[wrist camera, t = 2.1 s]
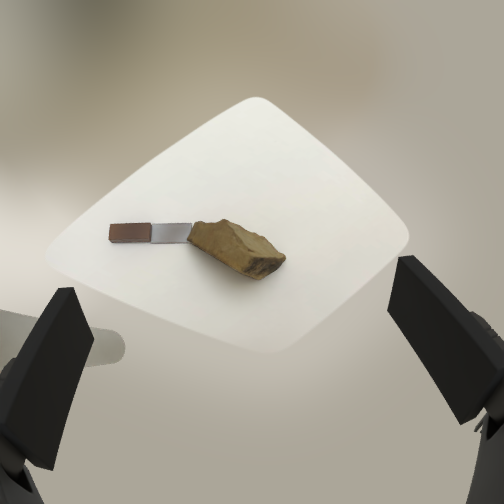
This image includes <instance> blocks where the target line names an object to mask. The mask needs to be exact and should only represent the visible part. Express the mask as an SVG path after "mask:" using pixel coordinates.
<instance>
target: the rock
mask: <svg viewBox="0 0 504 504" xmlns="http://www.w3.org/2000/svg"><path fill="white" fill-rule="evenodd" d="M187 241H189V242H190V243H192V244H194V245H195V246H197V247H199V248H200V249H201V250H203V251H205V252H207V253H208V254H210V255H212V256H214V257H215V258H216V259H218V260H220V261H221V262H223V263H224V264H226V265H228V266H230V267H231V268H233V269H235V270H237V271H238V272H240V273H241V274H245V275H247V276H251V277H252V278H255V279H257V280H260V279H262V278H264V277H265V276H267V275H269V274H270V273H272V272H274V271H275V270H276V269H278V268H279V266H280V265H281V264H282V262H283V261H284V260H286V257H285V255H284V254H282V253H280V252H278V251H277V250H276V249H275V248H274V247H273V245H272V244H271V243H270V242H268V240H267V239H266V238H265V237H264V236H259V235H258V234H256V233H252V232H249V231H247V230H245V229H244V228H242V227H241V226H240V225H237V224H234V223H231V222H229V221H228V220H226V219H222V220H221V221H219V222H216V223H205V222H202V221H198V222H195V223H194V226H193V228H192V230H191V232H190V234H189V236H188V237H187Z"/></svg>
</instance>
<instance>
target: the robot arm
mask: <svg viewBox="0 0 504 504" xmlns="http://www.w3.org/2000/svg"><path fill="white" fill-rule="evenodd" d="M387 311H388V312H389V314H390V315H391V317H392V318H393V320H394V321H395V323H396V324H397V325H398V327H399V328H400V330H401V331H402V333H403V334H404V336H405V337H406V339H407V340H408V342H409V343H410V345H411V346H412V348H413V349H414V351H415V352H416V354H417V355H418V357H419V358H420V360H421V362H422V363H423V364H424V366H425V368H426V369H427V371H428V372H429V374H430V376H431V377H432V378H433V380H434V382H435V384H436V385H437V387H438V388H439V390H440V392H441V393H442V395H443V397H444V398H445V400H446V402H447V403H448V405H449V407H450V408H451V410H452V412H453V413H454V415H455V417H456V418H457V420H458V422H459V424H460V425H462V424H464V423H466V422H468V421H470V420H472V419H474V418H476V417H477V415H478V414H479V413H480V411H481V410H482V409H483V407H484V408H485V409H486V411H487V413H486V414H485V416H484V417H483V418H482V420H481V421H480V422H479V423H478V425H477V426H476V428H475V430H474V432H477V430H478V429H479V428H480V427H481V426H482V425H483V427H482V430H481V431H480V433H482V434H481V441H480V446H479V451H478V457H477V461H476V466H475V471H474V475H473V479H472V483H471V487H470V491H469V494H468V498H467V502H466V504H504V341H503V340H502V339H501V337H500V336H498V334H497V333H496V332H495V331H494V329H491V326H490V325H489V324H488V323H487V322H486V321H485V320H484V319H483V318H482V317H481V316H479V315H477V314H476V313H474V312H469V311H468V310H467V309H466V308H465V307H464V306H463V305H462V303H461V302H459V300H458V299H457V298H456V297H455V296H454V295H453V294H452V293H451V292H450V291H449V290H448V289H447V288H446V287H445V286H444V285H443V284H442V283H441V282H440V281H439V280H438V279H437V278H436V277H435V276H434V275H433V274H432V273H431V272H430V271H429V270H428V269H427V268H426V267H425V266H424V265H423V264H422V263H421V262H420V261H419V260H418V259H416V257H415V256H413V255H411V256H403V257H398V263H397V268H396V273H395V278H394V282H393V287H392V292H391V297H390V301H389V305H388V309H387ZM93 342H94V337H93V335H92V332H91V330H90V328H89V325H88V323H87V321H86V318H85V316H84V313H83V311H82V309H81V306H80V303H79V301H78V298H77V295H76V293H75V290H74V287H67V288H58V290H57V291H56V292H55V294H54V295H53V297H52V299H51V300H50V302H49V303H48V305H47V306H46V308H45V309H44V311H43V313H42V315H41V316H40V318H39V319H38V321H37V322H36V324H35V326H34V327H33V329H32V331H31V333H30V334H29V336H28V338H27V339H26V341H25V343H24V345H23V346H22V348H21V350H20V352H19V354H18V355H17V357H16V358H12V359H11V360H10V361H9V363H8V364H7V365H6V366H5V367H4V368H3V370H2V372H1V374H0V504H44V502H43V500H42V498H41V496H40V494H39V492H38V490H37V488H36V486H35V483H34V481H33V479H32V477H31V474H30V472H29V470H28V469H27V467H26V466H25V465H24V463H25V459H28V460H29V461H30V462H31V463H32V464H33V465H34V466H36V467H40V468H43V469H47V470H51V471H53V469H54V464H55V460H56V456H57V452H58V449H59V445H60V441H61V437H62V434H63V430H64V427H65V423H66V420H67V417H68V413H69V410H70V407H71V404H72V401H73V398H74V394H75V392H76V388H77V385H78V383H79V380H80V377H81V374H82V371H83V368H84V366H85V363H86V360H87V357H88V355H89V352H90V349H91V347H92V344H93Z"/></svg>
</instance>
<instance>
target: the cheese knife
mask: <svg viewBox="0 0 504 504" xmlns="http://www.w3.org/2000/svg"><path fill="white" fill-rule="evenodd" d="M191 228H192V223H166V224H152V225H151V223H125V224H110V230H109V241H111V242H112V243H116V242H151V243H190V242H189V241H187V237H188V236H189V234H190V232H191Z"/></svg>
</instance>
